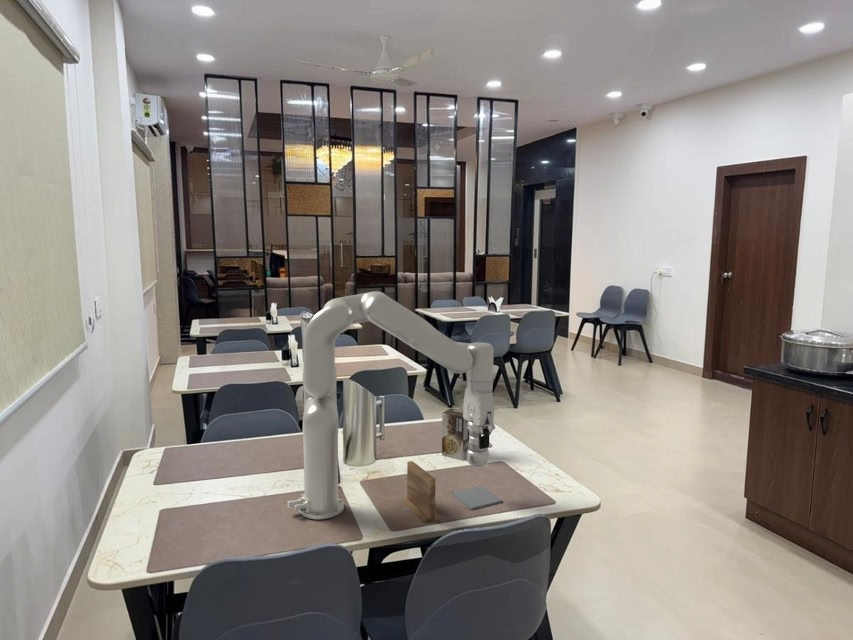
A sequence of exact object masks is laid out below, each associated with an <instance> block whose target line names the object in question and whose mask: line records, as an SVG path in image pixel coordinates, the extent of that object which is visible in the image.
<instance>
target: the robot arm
mask: <svg viewBox="0 0 853 640" xmlns="http://www.w3.org/2000/svg"><path fill="white" fill-rule="evenodd" d="M366 322H371V323H372V324H374V325H375V326H377V327H379V328H380V329H381V330H383V331H385V332H386V333H389V334H390V335H392V336H393V337H395V338H397V339H399V340H400V341H402V343H404V344H406V345H407V346H409V347H411V349H414V350H415V351H418V352H419V353H422V354H423V355H424V356H425V357H427V358H429V359H431V360H432V361H434V362H435V363H436V364H439V365H441V366H442V367H443V368H445V369H447V370H449V371H450V372H451V373H454V374H458V375H459V374H464V373H466V388H465V390H464V396H463V404H462V405H463V406H462V409H463V418H464V419H465V420H466V422H467V428H468V442H469V426H468V418H467V417H468V414H472V415H473V424H474V425H476V426H478V427H480V433H481V435H479V448H480V449H484V448H488V449H489V447H490V435H491V434H492V432H493V431H494V430H495V429H496V425H495V422H494V418H495V406H494V394H493V388H494V387H493V385H494V382H493V381H494V379H493V378H494V350H495V349H494V347H493V344H491V343H489V342H480V341H478V342H477V341H476V342H472V343H470V342H461V341H454V340H453V339H451V338H450V337H448V336H447V335H445V334H443V333H442V332H441V331H439V330H437V328H435V327H434V326H433V325H432V323H430V322H428V321H427V320H426V319H425V318H423V317H421V316H420V315H418V314H417V313H415V312H413V311H412V310H410V309H409V308H407V307H405V306H404V305H402V304H400V303H399V302H398V301H395V300H394V299H393V298H391V297H390V296H388V295H387V294H385V293H384V292H382V291H378V290H376V291H369V292H364V293H359V294H358V293H357V294H354V295H347V296H343V297H342V296H340V297H336V298H332V299H330V300H328V301H327V302H326V303H325V304H324V306H323V308H322V309H321V310H319V311H318V312H317V313H315V315H313V317H312V318H311V319H310V320H309V322H308V323H307V325H306V327H305V331H304V334H303V345H302V346H303V355H302V356H303V363H302V364H303V371H302V385H303V406H304V407H303V417H302V437H303V438H302V440H303V442H302V443H303V475H304V476H303V481H304V482H303V483H304V485H303V487H304V493H301V494H300V495H301V497H298V499H291V500H288V501H287V503H286V504H287V508H288V509H291V508H294V511H298V512H299V513H300V515H301V516H303V517H304V518H307V519H311V520H326V519H332V518H334V517H336V516H338V515H340V514H341V513H343V511H344V508H345V503H344V501H343V500H342V499H341V498H339V413H338V402H337V400H338V399H337V381H338V380H337V379H338V376H337V375H338V374H337V369H336V360H335V359H336V358H335V357H336V356H335V355H336V340H337V338H338V337H339V335H340V334H342V333H344V332H345V331H347V330H349V328H351V326H352V325H356V324H361V323H362V324H363V323H366ZM485 422H487V424H485ZM484 424H485V425H484ZM486 426H487V427H486ZM483 427H486V429H485V430H484V428H483Z"/></svg>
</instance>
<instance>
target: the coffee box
mask: <svg viewBox="0 0 853 640" xmlns="http://www.w3.org/2000/svg"><path fill="white" fill-rule="evenodd" d="M441 415H442V416H441V418H442V420H441V421H442V422H441V434H442V435H441V456H444V457H448V458H452V459H457V460H461V461H465V460H467V451H468V446H469V442H468V428H467V422H466V420H465V419H464V418H463V410H462V409H457V408H449V409H447V410H445V411H443V412H442V414H441Z"/></svg>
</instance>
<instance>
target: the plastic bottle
mask: <svg viewBox="0 0 853 640" xmlns="http://www.w3.org/2000/svg"><path fill="white" fill-rule="evenodd" d="M467 418H468V426H469V446H468V451H467V458H466V460H467V462H468V464H469V465H470V466H472V467H473V466H474V467H485V466H487V465H488V464H489V461H490V451H489V447H488V448H484V449H480V448H479V435H481V433H480V427H478V426H476V425H474V424H473V415H472V414H468V417H467ZM485 424H487V422H485ZM485 424H484V425H485ZM486 427H487V426H486ZM486 427H483V428H484V430H485V429H486Z"/></svg>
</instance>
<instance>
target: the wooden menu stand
mask: <svg viewBox="0 0 853 640" xmlns="http://www.w3.org/2000/svg"><path fill="white" fill-rule="evenodd" d="M406 465H407V467H406V468H407V469H406V470H407V471H406V473H407V474H406V475H407V476H406V477H407V478H406V483H407V484H406V487H407V488H406V497H405V498H401V503H403V504H404V506H405V507H407V509H409V510H410V511H411V512H412V513H413V514H414V515H415V516H416V515H417V516H416V517H417V518H418V519H420V520H421V521H422V522H423V523H425V522H426V523H430V522H433V521H436V520H437V521H438V520H441V516H440V515H439V514H438V513H437V512H436V477H434V476H433V475H431V474H430V473H429V472H427V471H426V470H425V469H423V468H422V466H420V465H418V464H417V463H416V462H414V461H412V460H410V461H407V463H406Z"/></svg>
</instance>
